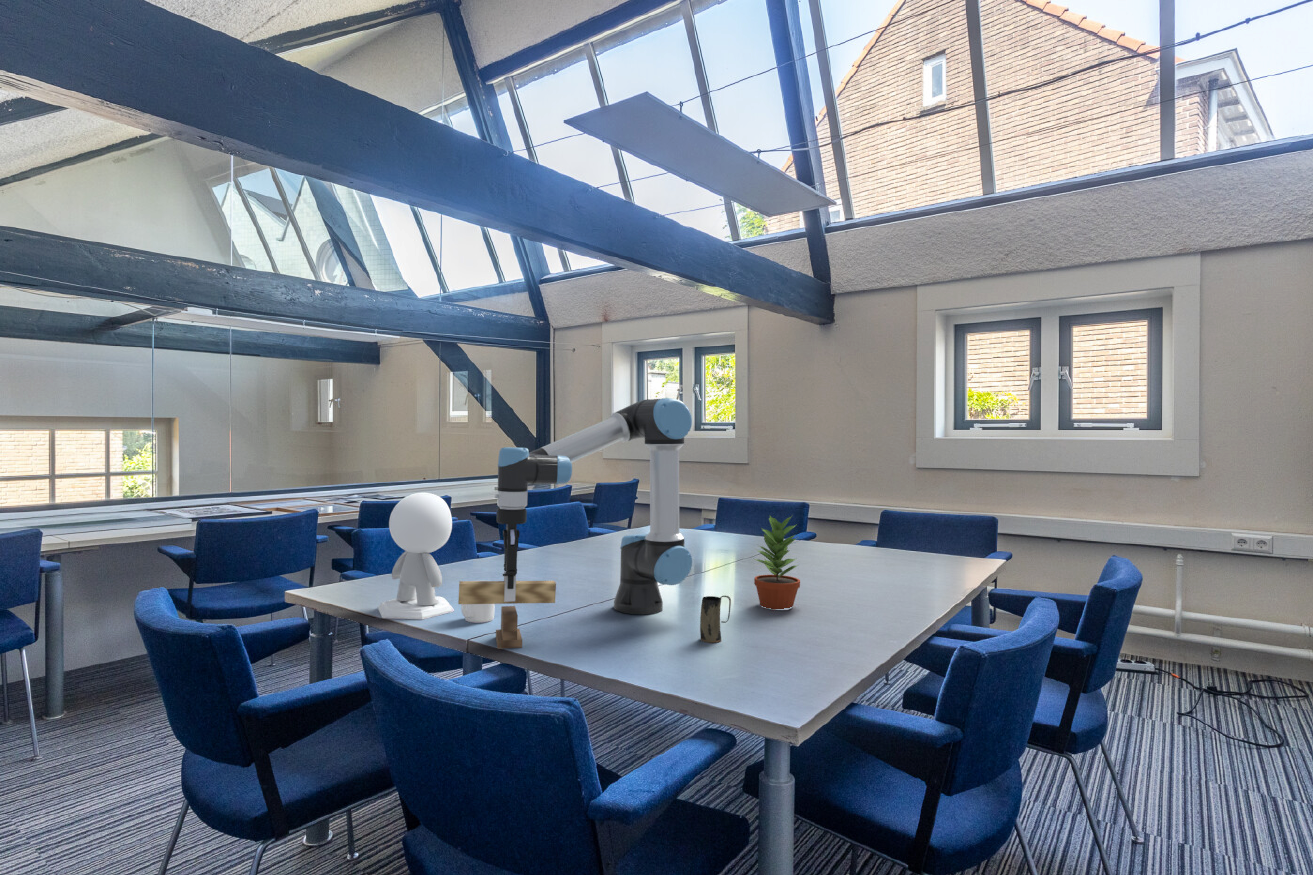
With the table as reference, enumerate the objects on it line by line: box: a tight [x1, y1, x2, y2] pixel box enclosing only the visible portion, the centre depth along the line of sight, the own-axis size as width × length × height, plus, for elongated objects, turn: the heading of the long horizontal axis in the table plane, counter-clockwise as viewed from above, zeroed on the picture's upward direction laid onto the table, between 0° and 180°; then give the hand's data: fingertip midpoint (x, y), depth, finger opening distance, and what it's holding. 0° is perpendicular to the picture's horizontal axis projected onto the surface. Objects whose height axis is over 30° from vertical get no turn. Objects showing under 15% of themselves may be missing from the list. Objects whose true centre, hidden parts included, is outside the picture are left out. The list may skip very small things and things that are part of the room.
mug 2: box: [699, 595, 732, 644], centre depth 183 cm, size 8×6×12 cm
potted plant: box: [753, 515, 801, 609], centre depth 221 cm, size 15×15×30 cm
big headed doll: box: [377, 492, 455, 621], centre depth 206 cm, size 20×23×35 cm
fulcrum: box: [495, 605, 523, 650], centre depth 177 cm, size 6×10×8 cm, turn 15°
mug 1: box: [460, 604, 496, 624], centre depth 196 cm, size 12×8×10 cm
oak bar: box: [457, 580, 557, 605], centre depth 176 cm, size 24×4×5 cm, turn 105°
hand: (509, 599), depth 177 cm, fingers closed on oak bar, 3 cm apart
